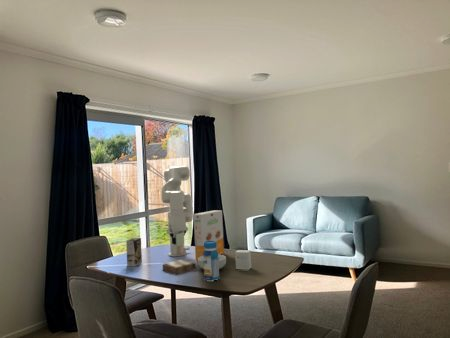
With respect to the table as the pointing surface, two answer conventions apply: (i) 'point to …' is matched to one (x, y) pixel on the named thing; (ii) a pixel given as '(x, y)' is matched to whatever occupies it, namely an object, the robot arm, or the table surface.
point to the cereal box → (208, 231)
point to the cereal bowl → (221, 261)
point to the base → (179, 266)
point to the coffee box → (134, 252)
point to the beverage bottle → (211, 261)
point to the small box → (243, 259)
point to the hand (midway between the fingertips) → (178, 242)
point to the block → (179, 239)
